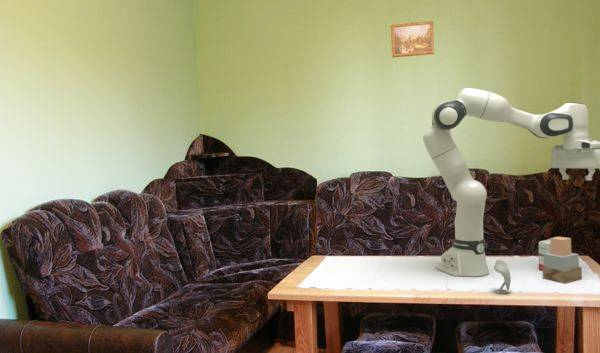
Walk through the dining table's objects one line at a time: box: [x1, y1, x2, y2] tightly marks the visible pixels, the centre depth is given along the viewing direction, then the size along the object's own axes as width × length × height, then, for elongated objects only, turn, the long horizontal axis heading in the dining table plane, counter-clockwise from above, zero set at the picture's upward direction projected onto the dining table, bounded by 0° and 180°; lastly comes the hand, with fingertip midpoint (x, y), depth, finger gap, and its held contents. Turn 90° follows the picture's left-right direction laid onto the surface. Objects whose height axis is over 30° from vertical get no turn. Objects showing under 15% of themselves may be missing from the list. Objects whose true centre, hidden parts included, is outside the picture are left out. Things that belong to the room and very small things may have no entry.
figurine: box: [493, 258, 512, 294], centre depth 172 cm, size 8×5×12 cm
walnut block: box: [542, 266, 583, 285], centre depth 185 cm, size 9×10×5 cm
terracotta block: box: [549, 236, 572, 256], centre depth 185 cm, size 5×5×6 cm
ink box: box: [538, 238, 551, 272], centre depth 199 cm, size 8×5×12 cm, turn 120°
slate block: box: [544, 252, 580, 271], centre depth 185 cm, size 8×9×5 cm
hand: (577, 180), depth 188 cm, fingers open, 8 cm apart
